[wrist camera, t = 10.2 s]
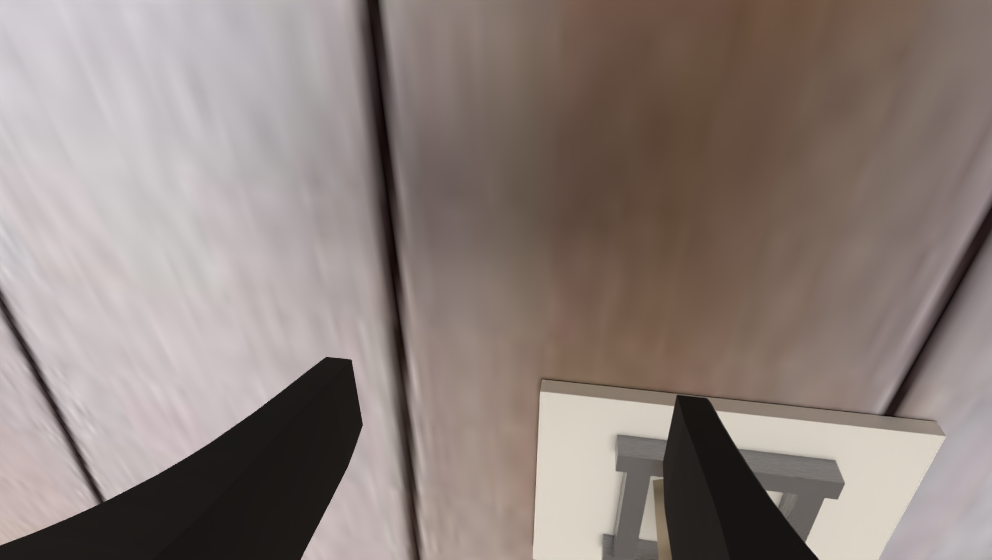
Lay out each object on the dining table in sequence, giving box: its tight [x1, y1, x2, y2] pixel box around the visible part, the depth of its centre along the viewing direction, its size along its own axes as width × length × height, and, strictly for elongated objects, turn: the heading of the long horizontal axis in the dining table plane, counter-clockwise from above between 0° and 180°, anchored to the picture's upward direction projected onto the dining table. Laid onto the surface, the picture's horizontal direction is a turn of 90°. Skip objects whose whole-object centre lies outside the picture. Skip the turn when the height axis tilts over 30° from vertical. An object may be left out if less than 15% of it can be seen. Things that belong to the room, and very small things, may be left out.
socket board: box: [533, 379, 946, 560], centre depth 27 cm, size 16×12×2 cm
